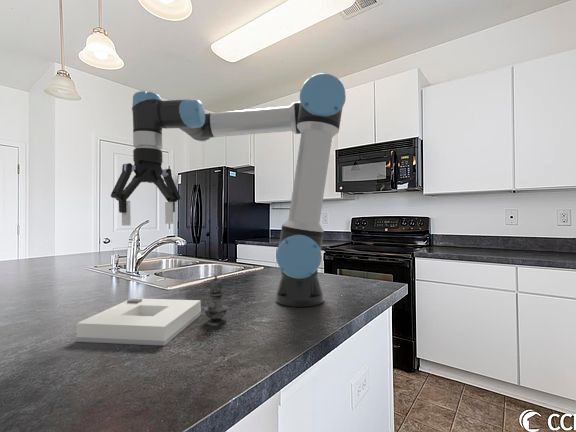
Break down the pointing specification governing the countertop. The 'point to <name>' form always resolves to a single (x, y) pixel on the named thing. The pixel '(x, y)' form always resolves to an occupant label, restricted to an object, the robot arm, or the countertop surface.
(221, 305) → the dark gray chess piece
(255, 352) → the countertop surface
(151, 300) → the socket plate
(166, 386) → the countertop surface
